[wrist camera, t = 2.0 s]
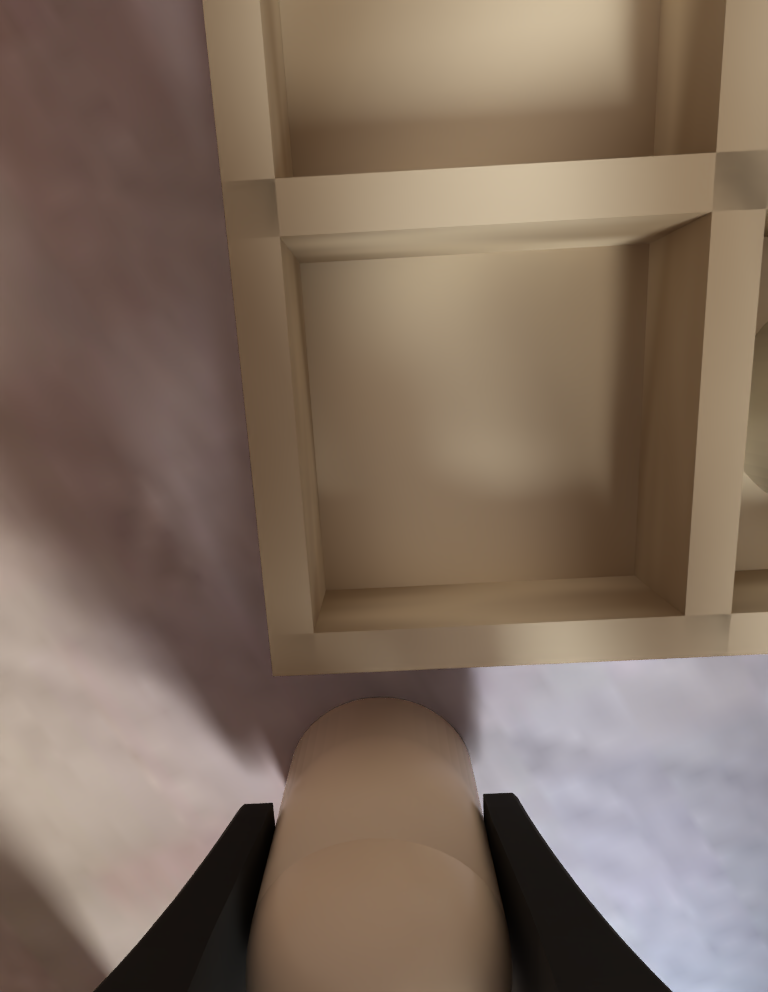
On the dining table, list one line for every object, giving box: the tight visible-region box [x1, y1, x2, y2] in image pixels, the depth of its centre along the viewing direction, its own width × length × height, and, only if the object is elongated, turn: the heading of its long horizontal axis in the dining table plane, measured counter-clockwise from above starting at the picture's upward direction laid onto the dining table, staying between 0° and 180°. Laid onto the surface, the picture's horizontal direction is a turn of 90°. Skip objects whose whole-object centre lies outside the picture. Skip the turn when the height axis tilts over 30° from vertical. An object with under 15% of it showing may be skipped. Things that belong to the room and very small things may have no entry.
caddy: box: [202, 0, 768, 676], centre depth 9 cm, size 15×15×2 cm
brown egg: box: [245, 697, 513, 992], centre depth 10 cm, size 4×4×6 cm
